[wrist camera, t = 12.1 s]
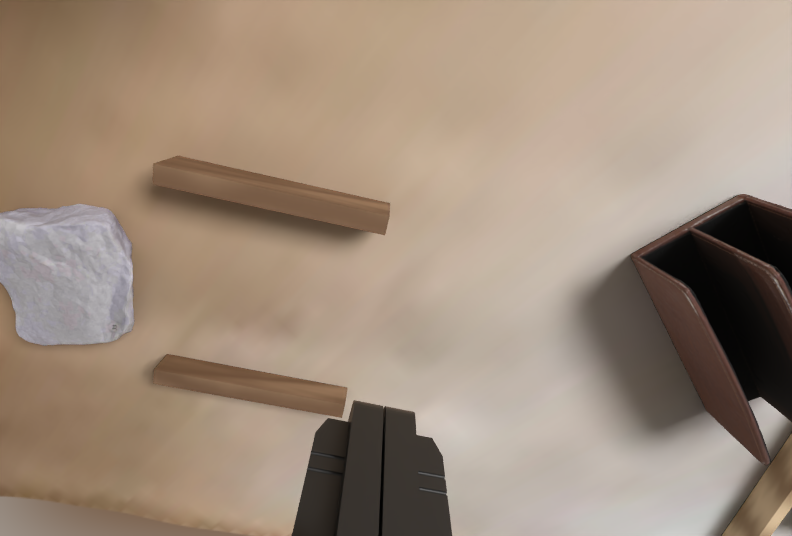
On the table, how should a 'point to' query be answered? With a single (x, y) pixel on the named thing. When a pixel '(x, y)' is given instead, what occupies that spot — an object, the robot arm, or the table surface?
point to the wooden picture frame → (766, 499)
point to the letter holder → (729, 308)
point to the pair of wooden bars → (280, 199)
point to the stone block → (67, 274)
